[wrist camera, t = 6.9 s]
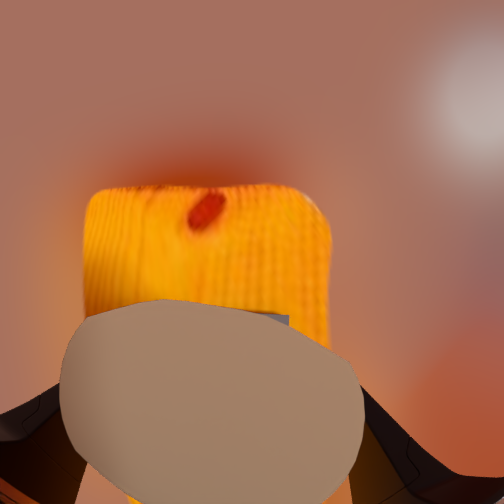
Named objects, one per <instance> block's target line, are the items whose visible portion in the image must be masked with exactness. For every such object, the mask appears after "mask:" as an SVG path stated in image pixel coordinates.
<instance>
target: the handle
mask: <svg viewBox="0 0 504 504" xmlns="http://www.w3.org/2000/svg"><path fill="white" fill-rule="evenodd" d="M59 396H60V407H61V414H62V419H63V422H64V425H65V428H66V431H67V434H68V436H69V439H70V441H71V443H72V445H73V447H74V449H75V450H76V451H77V452H78V453H79V454H80V455H81V456H82V457H83V458H84V459H85V460H86V461H87V462H88V463H89V464H90V465H91V466H92V467H93V468H94V469H95V470H97V471H98V472H99V473H100V474H101V475H102V476H104V477H105V478H106V479H107V480H109V481H110V482H111V483H112V484H113V485H115V486H116V487H117V488H119V489H120V490H122V491H123V492H124V493H126V494H128V495H129V496H131V497H132V498H134V499H136V500H137V501H139V502H141V503H143V504H322V503H323V502H324V501H325V500H326V499H327V498H329V497H330V496H331V495H332V494H333V493H334V492H335V491H336V490H337V489H338V487H339V486H340V485H341V484H342V483H343V482H344V480H345V479H346V477H347V476H348V474H349V472H350V470H351V468H352V466H353V465H354V463H355V461H356V458H357V455H358V451H359V448H360V445H361V442H362V437H363V429H364V421H365V411H364V397H363V393H362V390H361V387H360V384H359V381H358V378H357V376H356V374H355V372H354V370H353V368H352V366H351V364H350V363H349V362H348V361H347V360H345V359H343V358H342V357H340V356H338V355H337V354H335V353H333V352H332V351H330V350H328V349H327V348H325V347H323V346H322V345H320V344H319V343H317V342H315V341H313V340H312V339H310V338H308V337H307V336H305V335H303V334H302V333H300V332H298V331H296V330H295V329H293V328H291V327H289V326H287V325H285V324H283V323H281V322H278V321H276V320H274V319H272V318H270V317H268V316H265V315H260V314H256V313H252V312H248V311H244V310H239V309H233V308H226V307H219V306H213V305H207V304H201V303H195V302H189V301H177V300H164V299H163V300H156V301H148V302H141V303H137V304H133V305H129V306H125V307H122V308H118V309H114V310H111V311H107V312H104V313H100V314H97V315H93V316H90V317H87V318H86V319H85V320H84V322H83V323H82V324H81V325H80V326H79V328H78V329H77V331H76V332H75V334H74V335H73V337H72V338H71V340H70V342H69V344H68V347H67V350H66V353H65V356H64V358H63V363H62V368H61V375H60V390H59Z"/></svg>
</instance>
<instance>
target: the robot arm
mask: <svg viewBox="0 0 504 504" xmlns="http://www.w3.org/2000/svg"><path fill="white" fill-rule="evenodd" d="M360 387H361V390H362V393H363V397H364V411H365V421H364V429H363V437H362V442H361V445H360V448H359V451H358V455H357V458H356V461H355V463H354V465H353V466H352V468H351V470H350V472H349V474H348V475H349V481H350V489H351V495H352V503H353V504H504V477H499V478H495V477H494V478H493V477H475V476H464V475H459V474H457V473H455V472H453V471H451V470H450V469H448V468H447V467H446V466H444V465H443V464H442V463H441V462H439V461H438V460H437V459H435V458H434V457H433V456H431V455H430V454H429V453H428V452H427V451H425V450H424V449H423V448H422V447H421V446H420V445H419V444H418V443H417V442H416V441H415V440H414V439H413V438H412V437H410V435H409V434H407V432H406V431H405V430H404V429H403V428H402V427H401V426H400V425H399V424H398V423H397V422H396V421H395V420H394V419H393V418H392V417H391V416H390V415H389V414H388V413H387V412H386V411H385V410H384V409H383V408H382V407H381V406H380V405H379V404H378V403H377V402H376V401H375V400H374V399H373V398H372V397H371V396H370V395H369V394H368V392H366V391H365V389H364V388H362V386H361V385H360ZM59 390H60V383H58V384H56V385H55V386H53V387H52V388H50V389H48V390H47V391H45V392H43V393H42V394H41V395H38V396H37V397H35V398H33V399H31V400H30V401H28V402H26V403H24V404H22V405H20V406H18V407H16V408H14V409H11V410H9V411H7V412H5V413H3V414H0V504H75V501H76V497H77V494H78V491H79V488H80V483H81V481H82V477H83V475H84V472H85V468H86V465H87V463H88V462H87V461H86V460H85V459H84V458H83V457H82V456H81V455H80V454H79V453H78V452H77V451H76V450H75V449H74V447H73V445H72V443H71V441H70V439H69V436H68V434H67V431H66V428H65V425H64V422H63V419H62V414H61V407H60V396H59Z"/></svg>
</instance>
